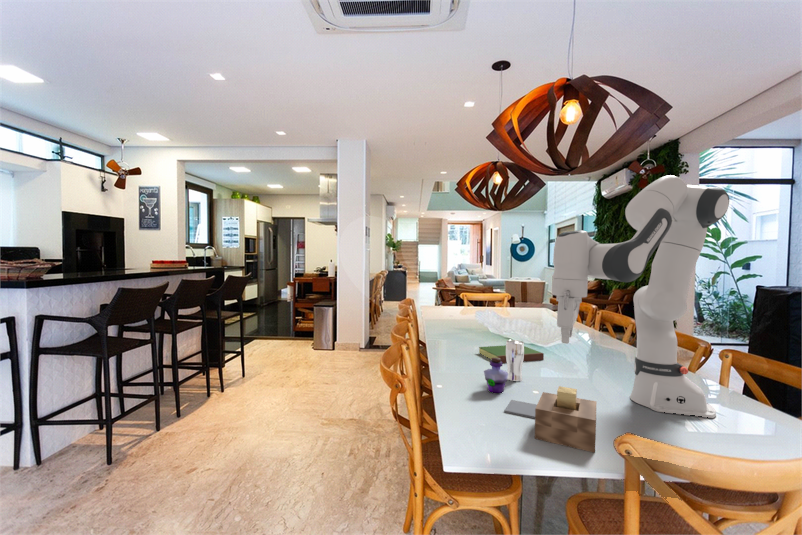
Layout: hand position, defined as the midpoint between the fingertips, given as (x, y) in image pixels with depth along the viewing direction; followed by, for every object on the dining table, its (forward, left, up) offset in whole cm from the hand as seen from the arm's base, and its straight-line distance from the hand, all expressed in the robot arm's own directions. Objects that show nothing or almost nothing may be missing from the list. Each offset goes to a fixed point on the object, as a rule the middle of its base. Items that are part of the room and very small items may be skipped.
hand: (566, 339), depth 101 cm
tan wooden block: (0, +2, -21) cm, 21 cm away
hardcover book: (+30, -73, -26) cm, 83 cm away
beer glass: (+22, -38, -26) cm, 51 cm away
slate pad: (+13, -9, -25) cm, 30 cm away
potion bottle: (+25, -21, -26) cm, 41 cm away
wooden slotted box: (0, +2, -25) cm, 25 cm away
